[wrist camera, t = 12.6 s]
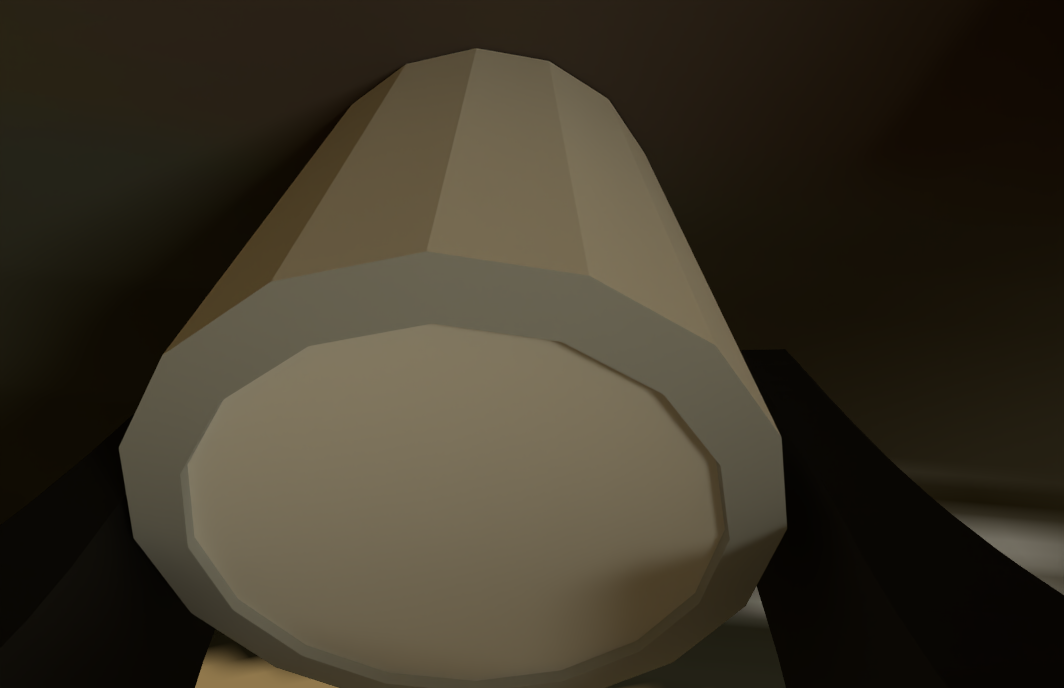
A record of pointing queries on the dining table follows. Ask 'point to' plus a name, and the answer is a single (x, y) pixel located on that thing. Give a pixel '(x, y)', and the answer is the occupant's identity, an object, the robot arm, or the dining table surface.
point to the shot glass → (461, 406)
